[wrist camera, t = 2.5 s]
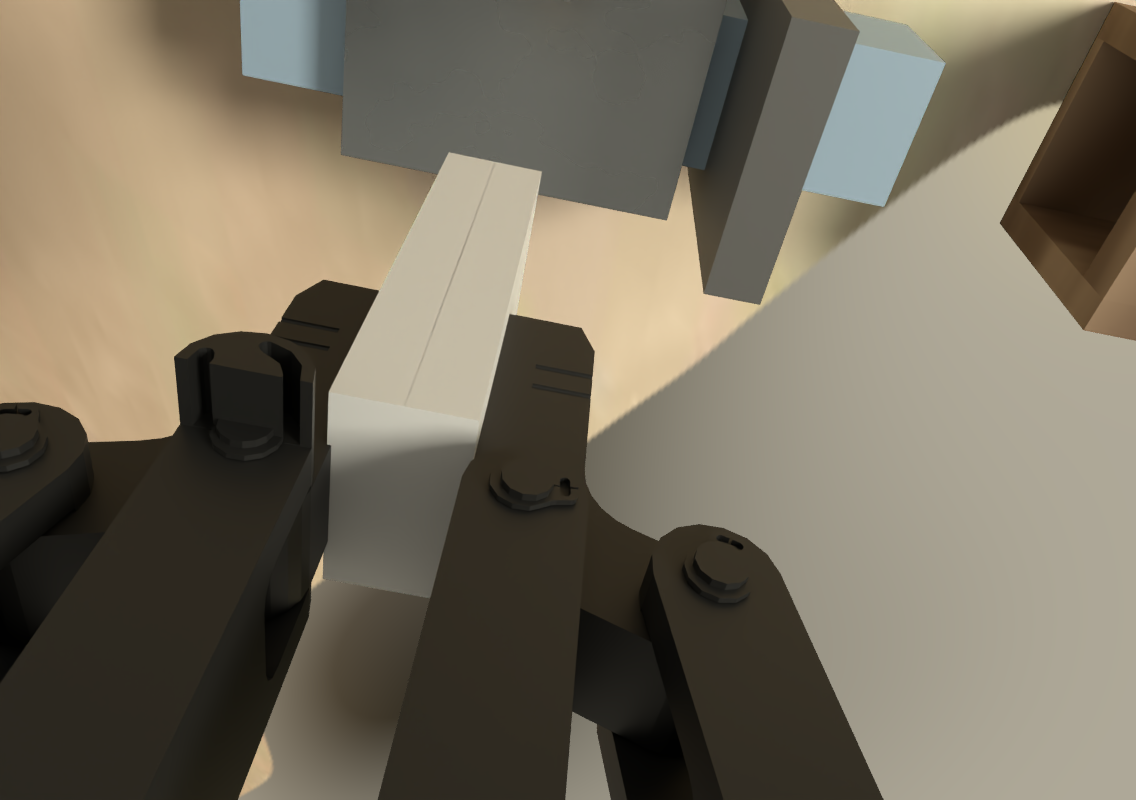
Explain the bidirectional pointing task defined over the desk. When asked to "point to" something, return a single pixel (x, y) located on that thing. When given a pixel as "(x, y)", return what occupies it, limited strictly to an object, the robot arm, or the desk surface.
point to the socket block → (1088, 188)
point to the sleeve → (533, 90)
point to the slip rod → (721, 114)
